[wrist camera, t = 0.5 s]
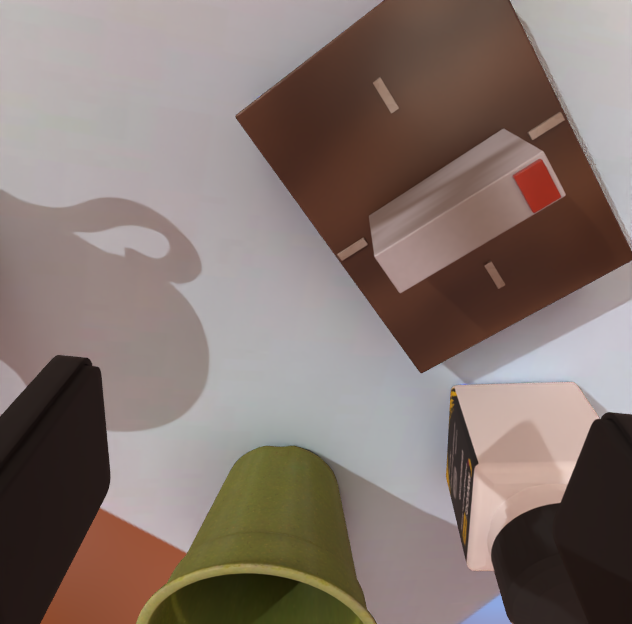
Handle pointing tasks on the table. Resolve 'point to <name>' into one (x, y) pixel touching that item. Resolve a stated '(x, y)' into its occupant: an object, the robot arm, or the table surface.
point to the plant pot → (267, 551)
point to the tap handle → (462, 208)
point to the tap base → (435, 163)
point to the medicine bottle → (517, 488)
